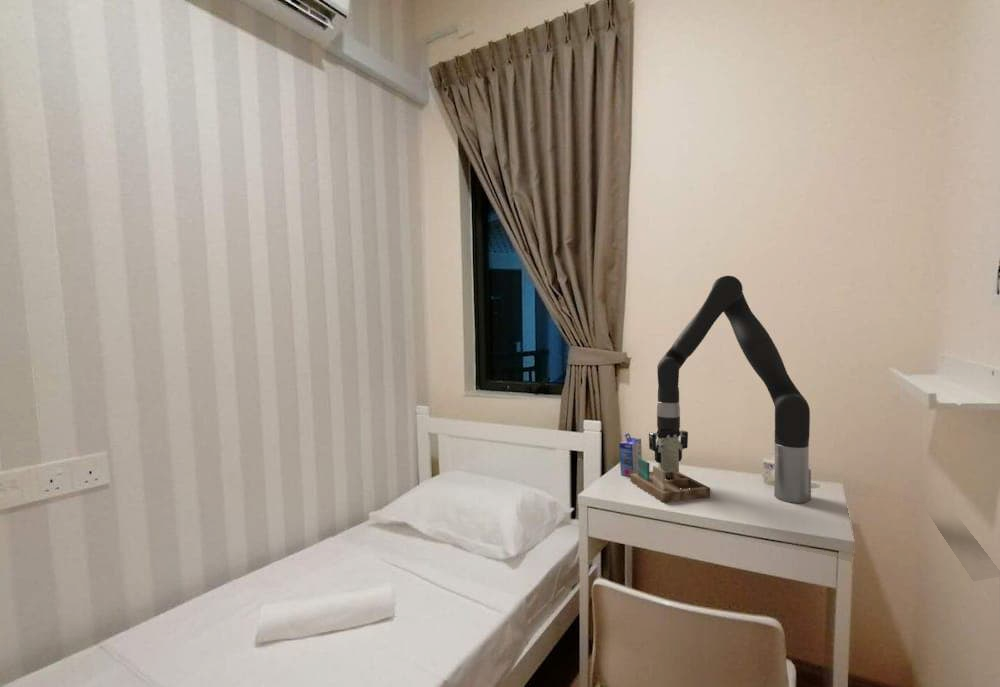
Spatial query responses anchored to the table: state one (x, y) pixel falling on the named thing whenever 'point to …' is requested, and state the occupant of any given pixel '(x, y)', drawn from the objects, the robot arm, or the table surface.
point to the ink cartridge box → (630, 455)
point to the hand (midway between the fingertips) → (668, 461)
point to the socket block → (667, 484)
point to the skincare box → (670, 455)
